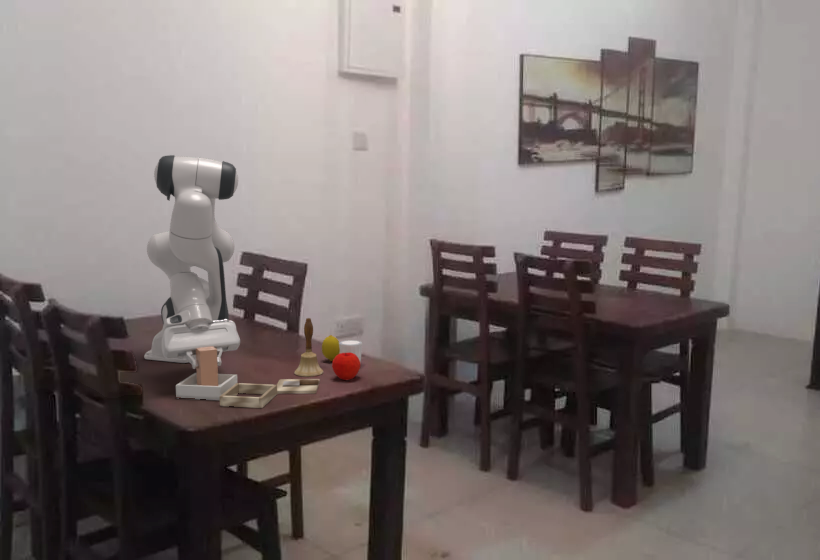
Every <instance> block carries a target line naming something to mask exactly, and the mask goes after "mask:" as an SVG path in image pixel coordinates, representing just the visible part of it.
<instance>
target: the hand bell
mask: <svg viewBox="0 0 820 560" xmlns="http://www.w3.org/2000/svg"><path fill="white" fill-rule="evenodd" d="M303 333H304V338H305V352H304V353H301V354H300V361H299V365H298V366H297V368H296V369H294V375H296V376H299V377H306V378H309V377H318V376H321V375H323V374H324V370H323V368H321V367H320V365H319V362H318V357H317V353H314V352H313V351H312V348H313V347H312V345H313V344H312V340H313V339H312V338H313V335H314V326H313V322H312V318H311V317H307V318H306V319H305V323H304V326H303Z"/></svg>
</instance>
